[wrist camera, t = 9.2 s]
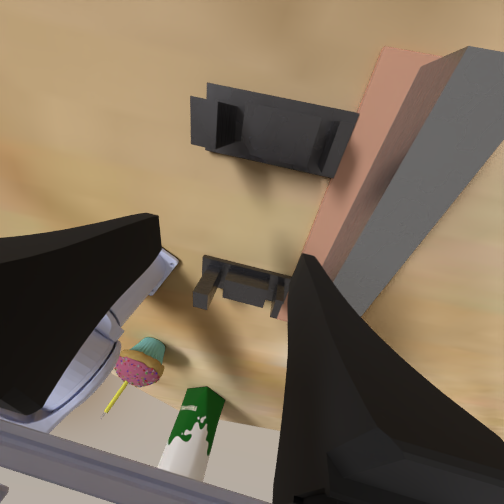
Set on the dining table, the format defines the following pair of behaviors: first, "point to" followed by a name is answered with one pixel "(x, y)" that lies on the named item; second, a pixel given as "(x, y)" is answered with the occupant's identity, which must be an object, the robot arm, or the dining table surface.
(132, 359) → the cupcake
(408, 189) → the rail
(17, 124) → the dining table surface
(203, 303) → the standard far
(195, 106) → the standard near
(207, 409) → the milk carton
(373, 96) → the mat
